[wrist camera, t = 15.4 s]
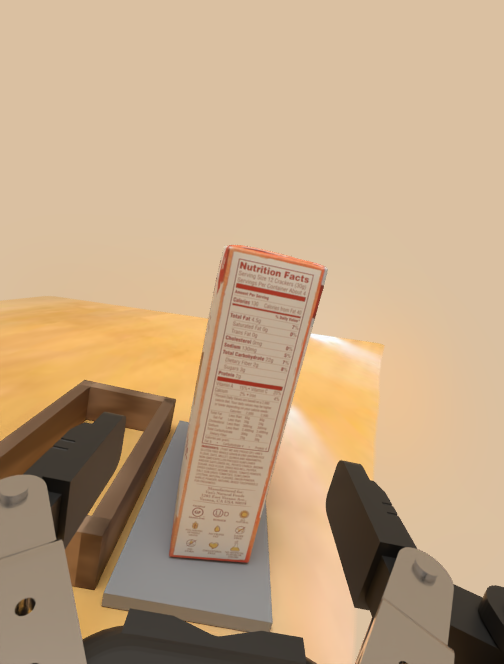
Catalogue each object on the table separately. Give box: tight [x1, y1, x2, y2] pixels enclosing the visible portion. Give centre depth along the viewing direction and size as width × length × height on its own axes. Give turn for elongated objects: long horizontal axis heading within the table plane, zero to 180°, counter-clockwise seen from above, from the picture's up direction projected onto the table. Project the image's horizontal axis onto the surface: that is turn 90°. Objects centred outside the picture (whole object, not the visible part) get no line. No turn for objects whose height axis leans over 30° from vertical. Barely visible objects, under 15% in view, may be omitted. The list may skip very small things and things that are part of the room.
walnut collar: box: [0, 380, 176, 590], centre depth 28 cm, size 10×18×4 cm, turn 0°
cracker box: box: [169, 245, 328, 563], centre depth 26 cm, size 14×6×21 cm, turn 6°
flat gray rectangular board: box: [102, 421, 272, 632], centre depth 29 cm, size 10×20×1 cm, turn 0°
